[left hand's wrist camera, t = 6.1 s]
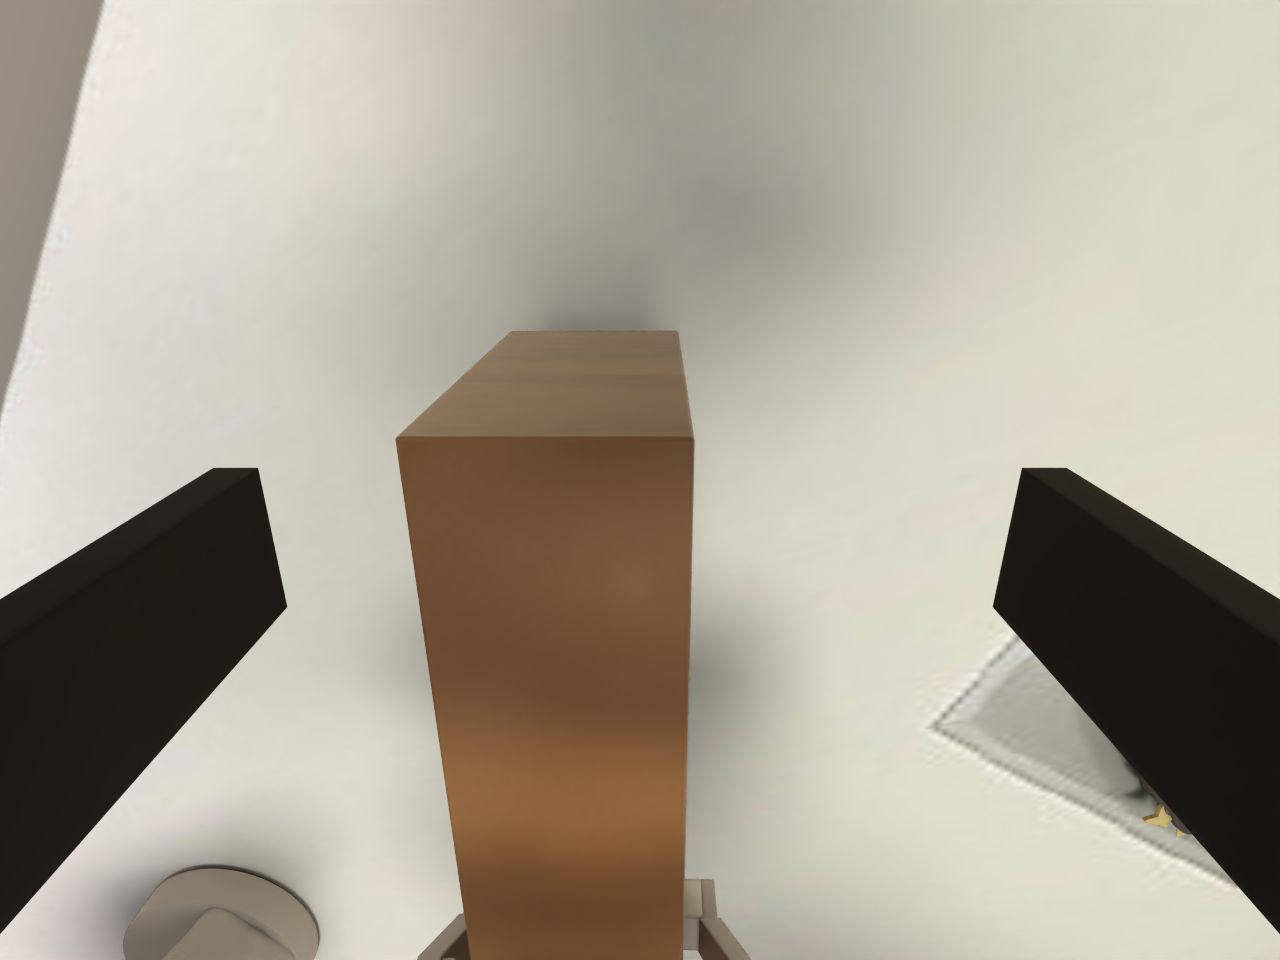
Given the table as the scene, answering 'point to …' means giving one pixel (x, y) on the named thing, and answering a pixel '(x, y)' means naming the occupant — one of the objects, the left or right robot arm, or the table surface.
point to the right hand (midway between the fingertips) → (595, 887)
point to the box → (561, 637)
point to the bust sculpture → (220, 920)
